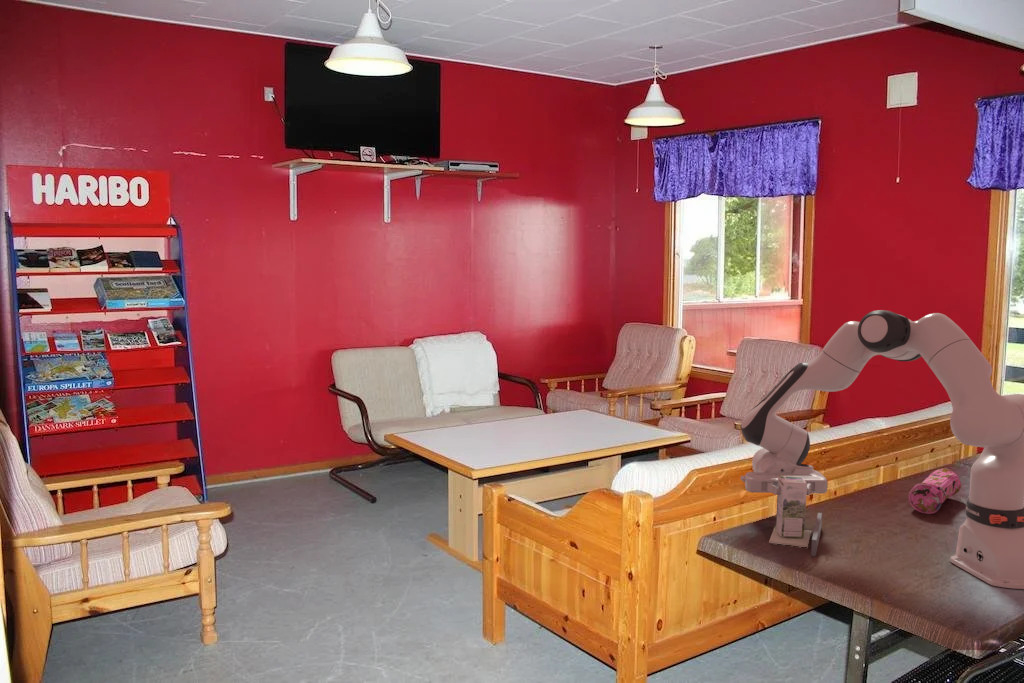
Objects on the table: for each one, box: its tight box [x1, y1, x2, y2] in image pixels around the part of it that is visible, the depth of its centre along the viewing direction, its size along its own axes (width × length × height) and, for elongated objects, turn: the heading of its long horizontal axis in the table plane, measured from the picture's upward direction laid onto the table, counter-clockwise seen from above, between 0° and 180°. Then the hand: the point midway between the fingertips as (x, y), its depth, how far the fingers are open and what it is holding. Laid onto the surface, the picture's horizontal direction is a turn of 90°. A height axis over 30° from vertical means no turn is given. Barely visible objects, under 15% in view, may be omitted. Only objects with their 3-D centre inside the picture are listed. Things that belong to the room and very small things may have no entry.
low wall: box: [810, 512, 823, 557], centre depth 214 cm, size 1×22×4 cm, turn 157°
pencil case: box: [908, 468, 962, 515], centre depth 243 cm, size 21×9×9 cm, turn 140°
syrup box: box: [775, 476, 808, 538], centre depth 216 cm, size 6×6×14 cm
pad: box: [768, 525, 812, 549], centre depth 217 cm, size 9×12×1 cm
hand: (792, 491), depth 215 cm, fingers closed on syrup box, 6 cm apart
